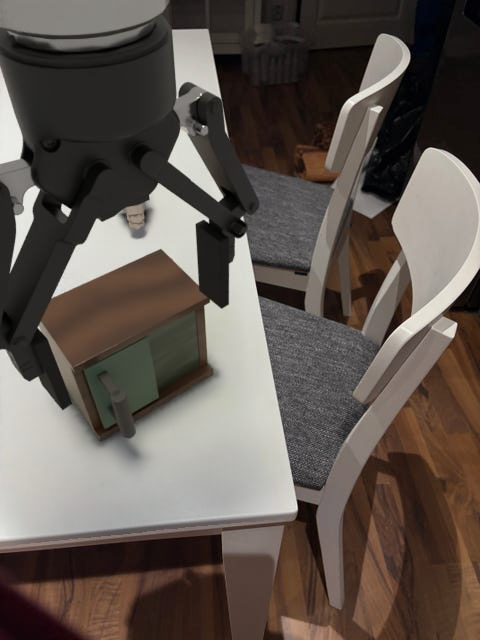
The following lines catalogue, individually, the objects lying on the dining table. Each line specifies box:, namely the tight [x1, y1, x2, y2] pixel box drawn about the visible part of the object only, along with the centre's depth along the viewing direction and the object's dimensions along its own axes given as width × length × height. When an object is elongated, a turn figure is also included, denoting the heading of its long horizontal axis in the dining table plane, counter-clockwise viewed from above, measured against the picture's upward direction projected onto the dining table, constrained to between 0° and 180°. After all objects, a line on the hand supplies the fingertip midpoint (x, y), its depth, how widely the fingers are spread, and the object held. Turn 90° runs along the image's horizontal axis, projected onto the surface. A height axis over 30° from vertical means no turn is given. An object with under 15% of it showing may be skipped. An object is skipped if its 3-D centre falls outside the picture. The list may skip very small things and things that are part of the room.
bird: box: [122, 202, 149, 230], centre depth 84 cm, size 5×14×15 cm, turn 13°
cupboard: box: [38, 248, 214, 442], centre depth 61 cm, size 10×16×14 cm, turn 128°
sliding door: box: [83, 336, 159, 440], centre depth 56 cm, size 5×7×11 cm
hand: (142, 342), depth 38 cm, fingers open, 13 cm apart
